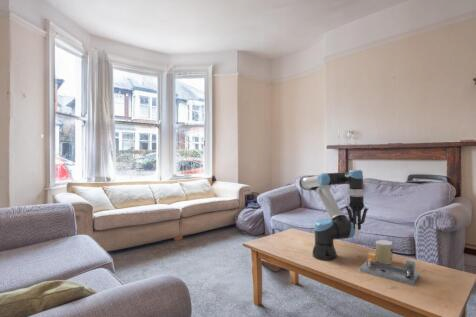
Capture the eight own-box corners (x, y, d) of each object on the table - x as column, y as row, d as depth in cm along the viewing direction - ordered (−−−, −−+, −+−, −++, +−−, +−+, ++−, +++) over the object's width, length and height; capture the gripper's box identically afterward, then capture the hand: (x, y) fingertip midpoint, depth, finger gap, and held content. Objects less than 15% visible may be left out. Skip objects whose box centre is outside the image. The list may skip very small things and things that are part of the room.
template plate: (360, 271, 151) (359, 257, 151) (367, 263, 161) (366, 250, 161) (414, 285, 134) (413, 269, 134) (418, 275, 143) (418, 261, 143)
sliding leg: (365, 266, 152) (365, 256, 152) (369, 261, 158) (369, 252, 158) (372, 267, 149) (372, 258, 149) (376, 263, 155) (376, 253, 155)
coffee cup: (395, 265, 157) (395, 245, 157) (378, 264, 159) (378, 244, 159) (390, 258, 166) (389, 239, 166) (373, 258, 168) (373, 239, 168)
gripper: (343, 195, 161) (344, 234, 162) (365, 197, 152) (366, 238, 153) (347, 193, 167) (348, 231, 167) (369, 195, 158) (370, 234, 158)
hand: (357, 234), depth 160 cm, fingers closed
